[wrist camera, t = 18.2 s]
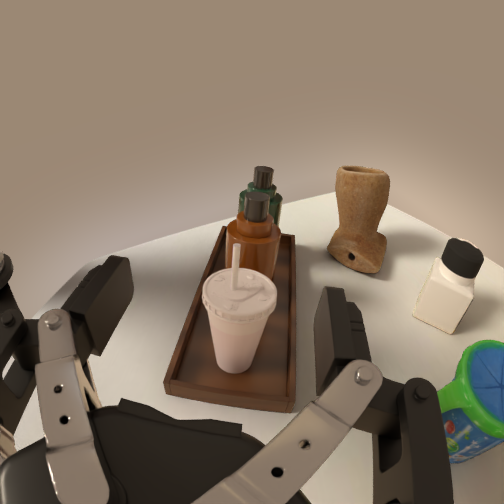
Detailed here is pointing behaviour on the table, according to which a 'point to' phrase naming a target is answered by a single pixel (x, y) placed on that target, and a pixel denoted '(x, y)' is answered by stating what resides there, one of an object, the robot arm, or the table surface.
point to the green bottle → (264, 191)
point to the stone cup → (360, 218)
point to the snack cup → (475, 402)
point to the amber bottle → (254, 236)
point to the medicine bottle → (449, 286)
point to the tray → (266, 356)
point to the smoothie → (237, 312)
